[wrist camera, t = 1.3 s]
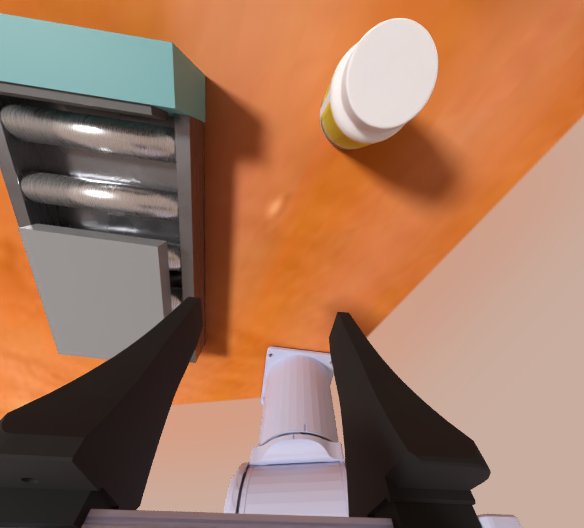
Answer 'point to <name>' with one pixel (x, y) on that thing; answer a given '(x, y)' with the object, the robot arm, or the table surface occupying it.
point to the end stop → (97, 70)
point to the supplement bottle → (379, 84)
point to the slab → (98, 287)
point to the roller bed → (111, 179)
